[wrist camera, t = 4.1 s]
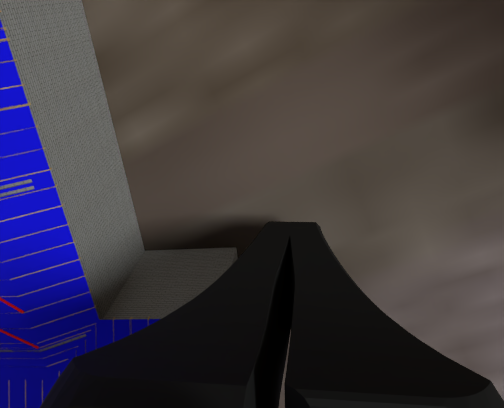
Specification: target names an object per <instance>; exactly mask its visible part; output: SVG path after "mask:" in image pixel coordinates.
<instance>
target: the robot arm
mask: <svg viewBox="0 0 504 408" xmlns="http://www.w3.org/2000/svg"><path fill="white" fill-rule="evenodd" d="M290 330H291V337H290V347H289V355H288V363H287V371H286V378H285V408H504V401H503V399H502V398H501V396H500V395H499V393H498V391H497V390H496V388H495V387H494V385H493V383H492V382H491V381H490V380H488V379H486V378H484V377H483V376H481V375H479V374H477V373H475V372H473V371H471V370H470V369H468V368H466V367H464V366H462V365H460V364H458V363H457V362H455V361H453V360H451V359H449V358H447V357H445V356H444V355H442V354H440V353H439V352H437V351H436V350H434V349H433V348H431V347H430V346H428V345H426V344H425V343H423V342H422V341H420V340H419V339H417V338H416V337H415V336H413V335H412V334H410V333H409V332H407V331H406V330H405V329H404V328H402V327H401V326H400V325H398V324H397V323H396V322H395V321H393V320H392V319H391V318H390V317H388V316H387V315H386V314H385V313H384V312H382V311H381V310H380V309H379V308H378V307H377V306H376V305H375V304H374V303H373V302H372V301H371V300H370V299H369V298H368V297H367V296H366V295H365V294H364V293H363V292H362V290H361V289H360V288H359V287H358V286H357V285H356V283H355V282H354V281H353V280H352V279H351V277H350V276H349V275H348V274H347V272H346V271H345V270H344V268H343V267H342V265H341V264H340V262H339V261H338V260H337V258H336V257H335V255H334V254H333V252H332V250H331V249H330V247H329V245H328V243H327V242H326V240H325V238H324V236H323V234H322V231H321V229H320V226H319V225H318V224H317V223H316V222H268V223H267V224H266V225H265V226H264V227H263V229H262V230H261V231H260V233H259V234H258V235H257V237H256V238H255V239H254V241H253V242H252V243H251V244H250V246H249V247H248V248H247V249H246V250H245V251H244V252H243V254H242V255H241V256H240V257H239V258H238V259H237V260H236V261H235V262H234V263H233V264H232V265H231V266H230V267H229V268H228V269H227V270H226V271H225V272H224V273H223V274H222V275H221V276H220V277H219V278H218V279H217V280H216V281H215V282H214V283H213V284H211V285H210V286H209V287H208V288H207V289H205V290H204V291H203V292H202V293H200V294H199V295H198V296H196V297H195V298H194V299H192V300H191V301H189V302H188V303H186V304H184V305H183V306H181V307H180V308H178V309H177V310H175V311H173V312H172V313H170V314H169V315H167V316H165V317H164V318H162V319H160V320H158V321H157V322H155V323H153V324H151V325H149V326H147V327H145V328H143V329H141V330H139V331H137V332H135V333H133V334H131V335H129V336H127V337H125V338H122V339H120V340H118V341H115V342H113V343H110V344H108V345H105V346H103V347H100V348H98V349H95V350H93V351H90V352H88V353H85V354H82V355H80V356H77V357H74V358H73V359H72V360H71V361H70V363H69V364H68V365H67V367H66V368H65V370H64V371H63V372H62V374H61V375H60V376H59V378H58V379H57V380H56V382H55V384H54V385H53V387H52V388H51V390H50V391H49V393H48V395H47V396H46V398H45V399H44V401H43V403H42V404H41V406H40V407H39V408H278V407H279V399H280V392H281V386H282V379H283V373H284V367H285V361H286V355H287V348H288V342H289V336H290Z"/></svg>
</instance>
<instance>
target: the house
mask: <svg viewBox="0 0 504 408" xmlns="http://www.w3.org/2000/svg"><path fill="white" fill-rule="evenodd" d="M237 259H238V255H237V248H236V247H232V248H204V249H177V250H149V251H145V249H144V245H143V241H142V237H141V233H140V230H139V226H138V222H137V218H136V214H135V210H134V206H133V202H132V198H131V194H130V190H129V186H128V182H127V178H126V174H125V170H124V166H123V162H122V158H121V154H120V150H119V146H118V142H117V138H116V134H115V130H114V126H113V122H112V119H111V115H110V111H109V107H108V103H107V99H106V95H105V91H104V87H103V83H102V79H101V75H100V71H99V67H98V63H97V59H96V55H95V51H94V47H93V43H92V39H91V35H90V31H89V27H88V23H87V19H86V15H85V11H84V8H83V4H82V0H0V408H39V407H40V406H41V404H42V403H43V401H44V399H45V398H46V396H47V395H48V393H49V391H50V390H51V388H52V387H53V385H54V384H55V382H56V380H57V379H58V378H59V376H60V375H61V374H62V372H63V371H64V370H65V368H66V367H67V365H68V364H69V363H70V361H71V360H72V359H73V358H74V357H77V356H80V355H82V354H85V353H88V352H90V351H93V350H95V349H98V348H100V347H103V346H105V345H108V344H110V343H113V342H115V341H118V340H120V339H122V338H125V337H127V336H129V335H131V334H133V333H135V332H137V331H139V330H141V329H143V328H145V327H147V326H149V325H151V324H153V323H155V322H157V321H158V320H160V319H162V318H164V317H165V316H167V315H169V314H170V313H172V312H173V311H175V310H177V309H178V308H180V307H181V306H183V305H184V304H186V303H188V302H189V301H191V300H192V299H194V298H195V297H196V296H198V295H199V294H200V293H202V292H203V291H204V290H205V289H207V288H208V287H209V286H210V285H211V284H213V283H214V282H215V281H216V280H217V279H218V278H219V277H220V276H221V275H222V274H223V273H224V272H225V271H226V270H227V269H228V268H229V267H230V266H231V265H232V264H233V263H234V262H235V261H236V260H237Z"/></svg>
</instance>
